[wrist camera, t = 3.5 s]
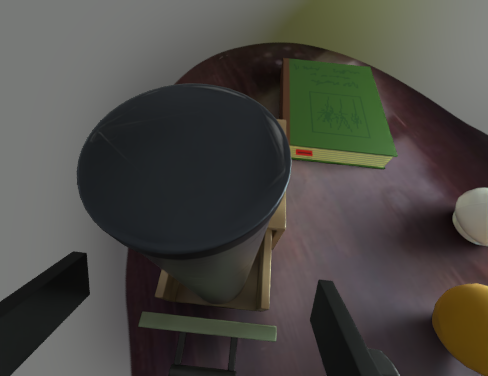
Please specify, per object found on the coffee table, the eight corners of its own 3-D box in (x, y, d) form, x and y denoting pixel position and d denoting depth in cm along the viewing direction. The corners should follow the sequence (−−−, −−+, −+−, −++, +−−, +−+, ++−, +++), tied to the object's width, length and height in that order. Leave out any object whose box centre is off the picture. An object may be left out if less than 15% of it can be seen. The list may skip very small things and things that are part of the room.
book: (280, 74, 53) (283, 58, 49) (361, 82, 52) (370, 67, 49) (278, 161, 40) (282, 147, 37) (385, 172, 40) (398, 159, 37)
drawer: (264, 383, 24) (275, 403, 18) (147, 370, 24) (120, 386, 18) (271, 213, 34) (279, 190, 28) (188, 204, 34) (179, 179, 28)
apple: (502, 341, 28) (606, 349, 20) (462, 395, 25) (567, 429, 17) (437, 276, 31) (504, 261, 24) (396, 317, 29) (458, 315, 21)
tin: (180, 287, 27) (21, 182, 7) (210, 238, 30) (167, 63, 10) (230, 317, 26) (228, 306, 5) (256, 262, 29) (319, 122, 8)
